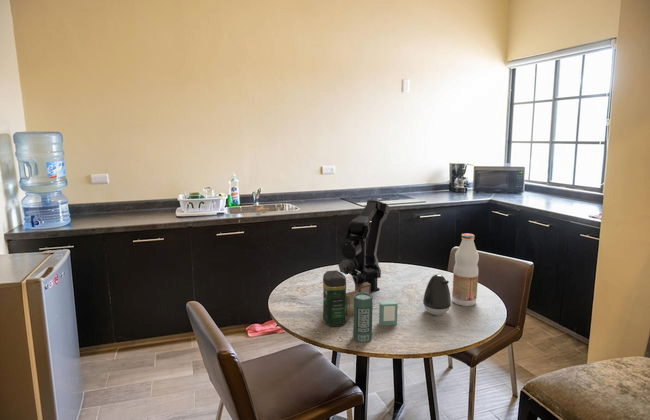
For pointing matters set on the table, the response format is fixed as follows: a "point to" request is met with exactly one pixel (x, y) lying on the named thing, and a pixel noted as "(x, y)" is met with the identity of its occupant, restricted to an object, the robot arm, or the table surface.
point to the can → (362, 317)
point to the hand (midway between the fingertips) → (357, 289)
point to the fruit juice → (465, 272)
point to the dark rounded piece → (437, 295)
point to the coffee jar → (334, 298)
